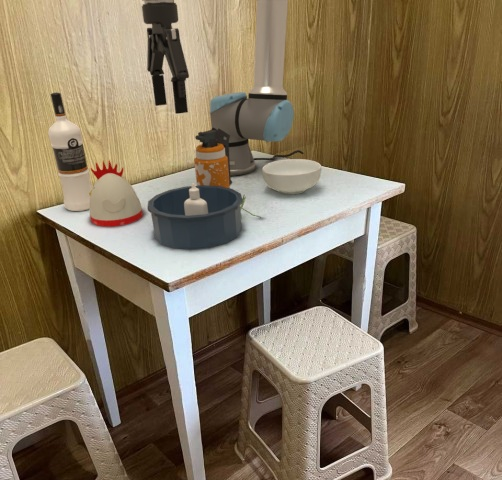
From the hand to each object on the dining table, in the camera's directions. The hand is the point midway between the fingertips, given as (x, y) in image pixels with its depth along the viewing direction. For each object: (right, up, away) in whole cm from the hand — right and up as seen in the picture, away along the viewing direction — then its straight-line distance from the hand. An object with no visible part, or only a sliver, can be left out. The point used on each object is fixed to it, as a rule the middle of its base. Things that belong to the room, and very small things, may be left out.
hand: (170, 109), depth 122 cm
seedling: (+21, -23, +13) cm, 34 cm away
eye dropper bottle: (+6, -28, +7) cm, 29 cm away
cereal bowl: (+31, -11, +31) cm, 45 cm away
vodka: (-30, -17, +27) cm, 43 cm away
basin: (+6, -28, +7) cm, 29 cm away
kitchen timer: (-17, -21, +18) cm, 33 cm away
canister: (+9, -17, +24) cm, 30 cm away
